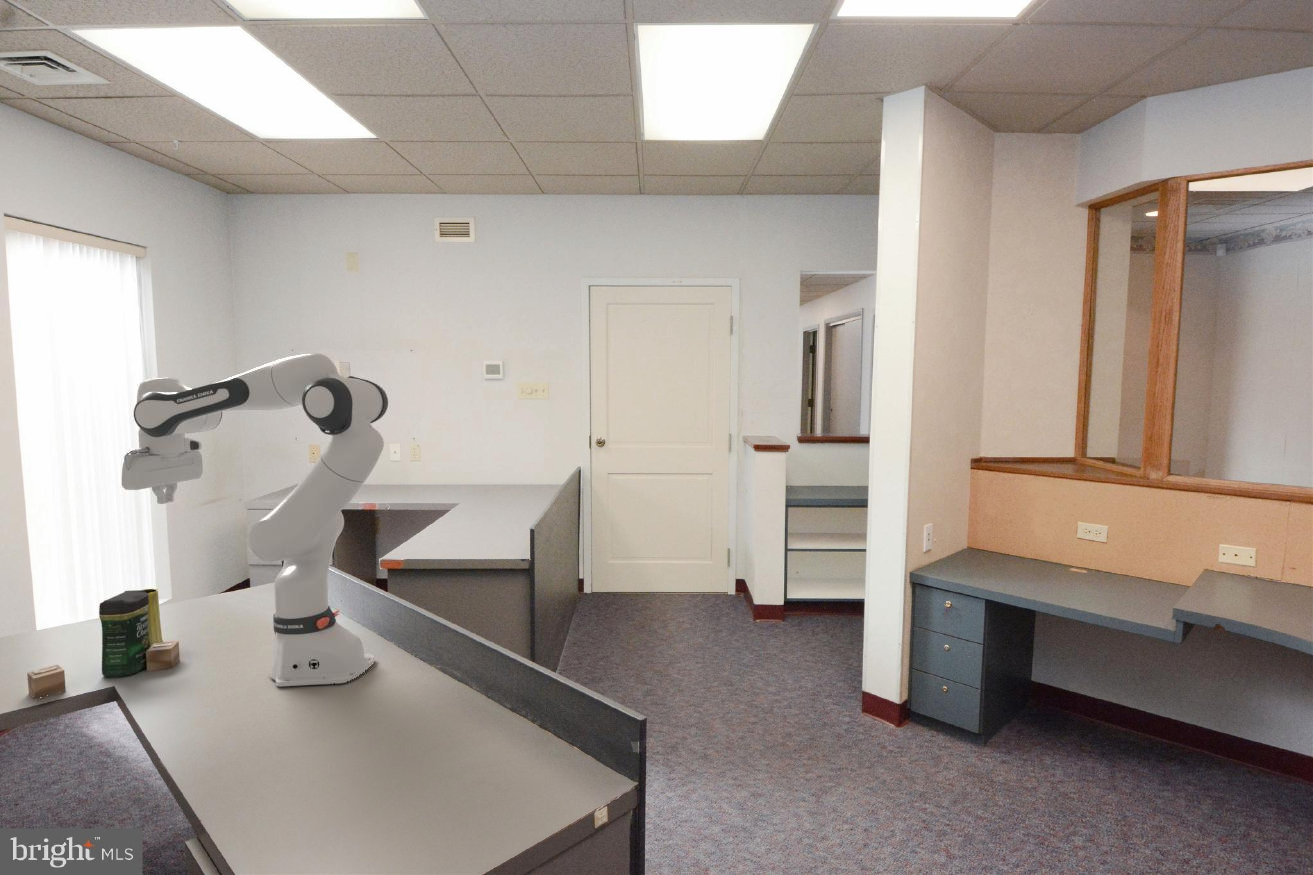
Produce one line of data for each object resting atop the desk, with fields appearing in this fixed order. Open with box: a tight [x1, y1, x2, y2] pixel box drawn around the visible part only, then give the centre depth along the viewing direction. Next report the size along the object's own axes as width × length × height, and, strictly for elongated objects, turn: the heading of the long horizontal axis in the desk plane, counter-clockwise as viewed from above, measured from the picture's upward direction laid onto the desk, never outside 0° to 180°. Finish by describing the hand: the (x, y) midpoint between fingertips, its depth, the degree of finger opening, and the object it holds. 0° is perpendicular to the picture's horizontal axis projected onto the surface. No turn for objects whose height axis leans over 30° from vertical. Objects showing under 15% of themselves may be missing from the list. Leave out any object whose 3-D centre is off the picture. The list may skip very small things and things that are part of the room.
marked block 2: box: [146, 640, 181, 672], centre depth 157 cm, size 5×5×5 cm
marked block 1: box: [26, 664, 67, 700], centre depth 143 cm, size 5×5×5 cm
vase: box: [142, 588, 164, 646], centre depth 169 cm, size 6×6×14 cm
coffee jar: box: [98, 589, 151, 679], centre depth 154 cm, size 10×8×19 cm
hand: (165, 502), depth 158 cm, fingers closed
